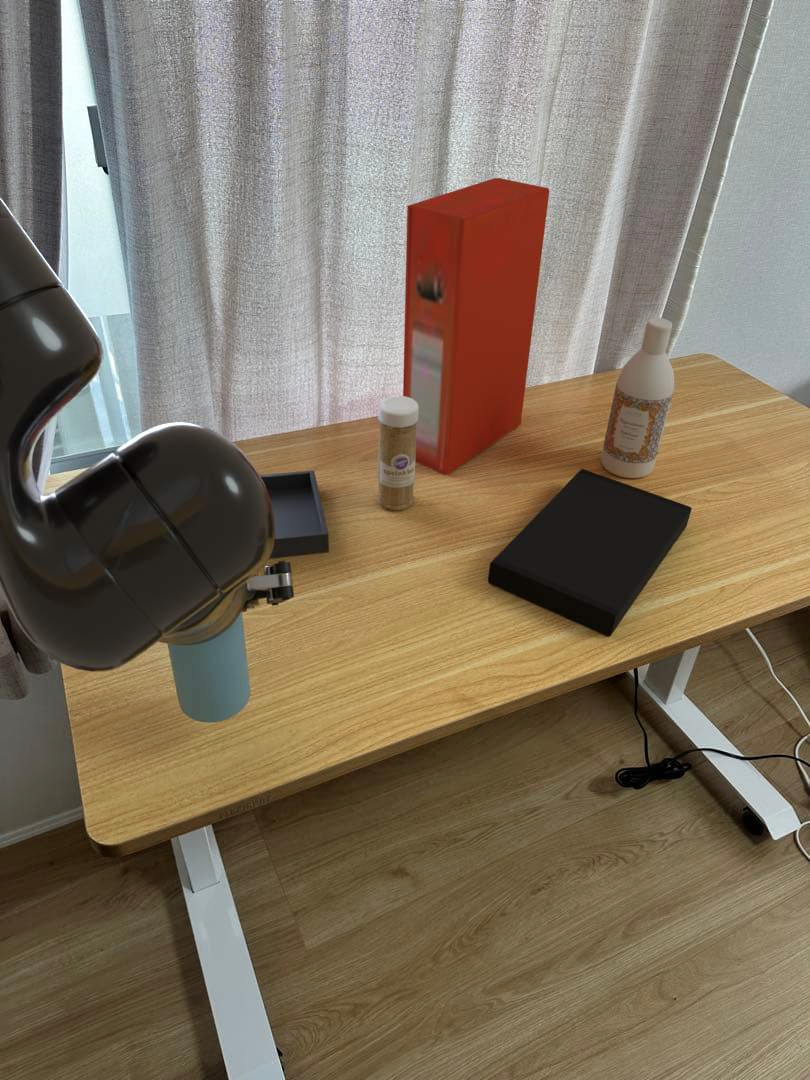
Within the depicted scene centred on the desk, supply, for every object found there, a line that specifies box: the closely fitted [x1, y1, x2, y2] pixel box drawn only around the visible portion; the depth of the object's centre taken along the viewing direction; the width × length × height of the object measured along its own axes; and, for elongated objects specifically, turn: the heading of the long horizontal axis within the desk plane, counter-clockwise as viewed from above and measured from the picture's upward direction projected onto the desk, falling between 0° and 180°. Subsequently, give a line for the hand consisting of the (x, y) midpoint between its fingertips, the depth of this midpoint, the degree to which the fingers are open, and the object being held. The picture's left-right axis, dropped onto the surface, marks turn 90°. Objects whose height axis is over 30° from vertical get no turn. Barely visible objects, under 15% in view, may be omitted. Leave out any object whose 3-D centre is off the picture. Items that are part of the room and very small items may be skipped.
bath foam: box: [600, 317, 675, 479], centre depth 101 cm, size 7×7×20 cm
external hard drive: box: [487, 468, 693, 638], centre depth 91 cm, size 14×23×3 cm, turn 146°
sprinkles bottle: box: [376, 395, 419, 511], centre depth 95 cm, size 5×5×13 cm
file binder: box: [402, 177, 550, 475], centre depth 101 cm, size 8×17×32 cm, turn 141°
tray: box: [259, 470, 330, 559], centre depth 93 cm, size 17×13×3 cm
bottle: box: [166, 612, 252, 724], centre depth 63 cm, size 6×6×18 cm
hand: (201, 599), depth 64 cm, fingers closed on bottle, 6 cm apart
